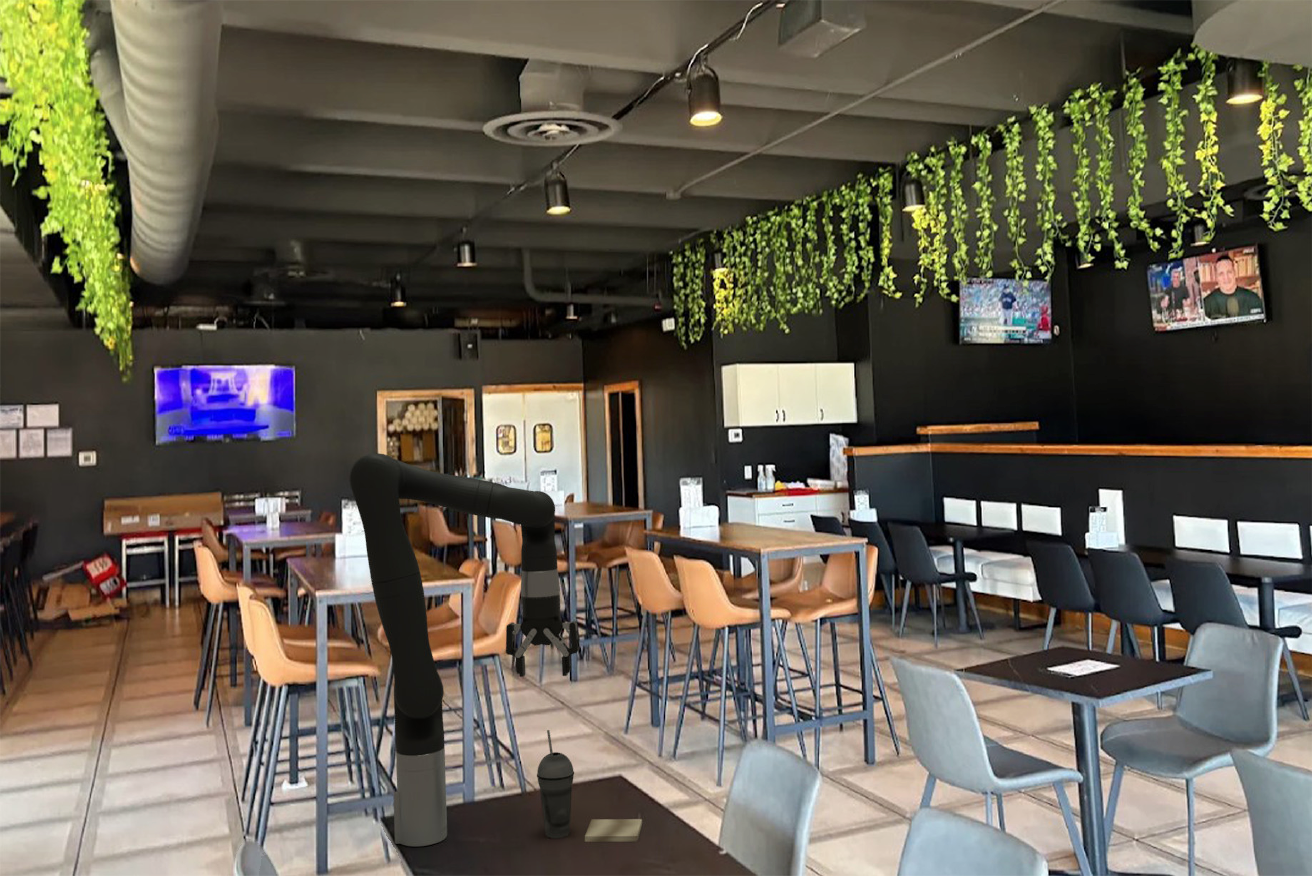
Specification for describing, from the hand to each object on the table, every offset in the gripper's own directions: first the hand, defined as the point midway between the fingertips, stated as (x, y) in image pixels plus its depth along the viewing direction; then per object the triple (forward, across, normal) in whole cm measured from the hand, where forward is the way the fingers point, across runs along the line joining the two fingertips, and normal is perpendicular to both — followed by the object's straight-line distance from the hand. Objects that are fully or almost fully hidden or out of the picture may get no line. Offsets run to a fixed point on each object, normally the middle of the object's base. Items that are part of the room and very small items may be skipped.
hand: (544, 675), depth 200 cm
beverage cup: (+30, +2, -2) cm, 31 cm away
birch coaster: (+30, +13, -1) cm, 33 cm away
